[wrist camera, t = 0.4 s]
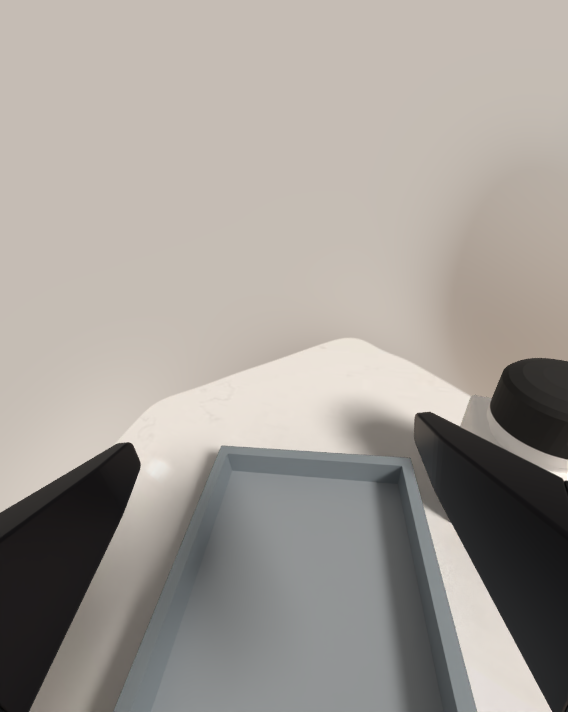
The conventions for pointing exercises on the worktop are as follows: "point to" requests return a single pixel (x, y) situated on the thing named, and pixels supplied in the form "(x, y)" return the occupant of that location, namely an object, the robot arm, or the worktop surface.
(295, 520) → the tray
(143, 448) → the worktop surface
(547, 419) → the medicine bottle
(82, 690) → the worktop surface
